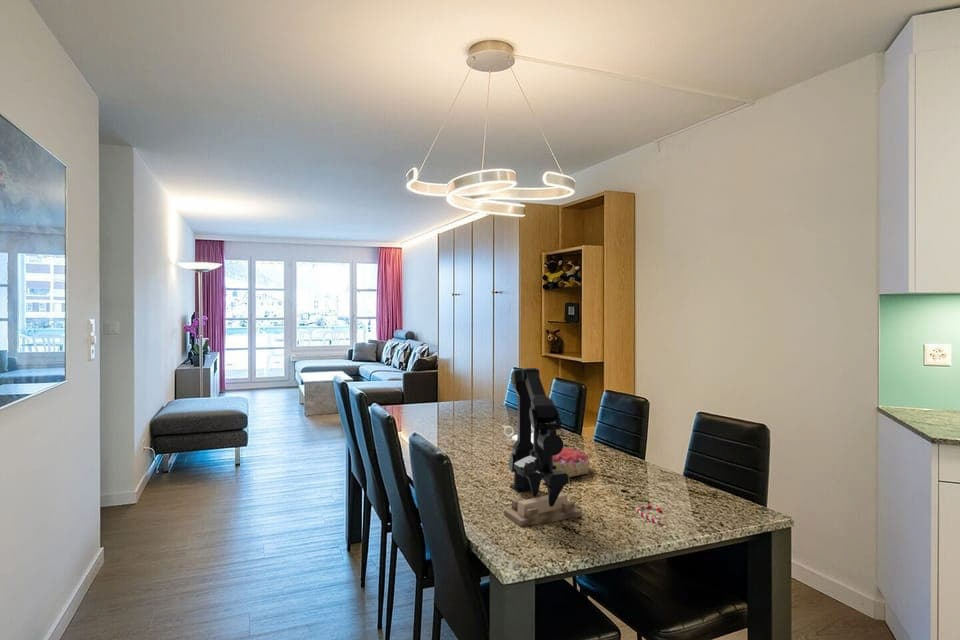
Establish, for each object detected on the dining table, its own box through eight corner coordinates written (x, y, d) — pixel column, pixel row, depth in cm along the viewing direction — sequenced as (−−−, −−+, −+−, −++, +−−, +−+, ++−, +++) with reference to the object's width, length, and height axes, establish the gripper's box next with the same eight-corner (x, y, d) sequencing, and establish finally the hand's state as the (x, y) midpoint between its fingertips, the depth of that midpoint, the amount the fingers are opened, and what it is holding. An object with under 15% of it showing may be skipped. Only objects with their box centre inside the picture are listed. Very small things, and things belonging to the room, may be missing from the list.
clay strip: (524, 517, 160) (524, 504, 160) (517, 513, 163) (517, 501, 163) (567, 506, 169) (567, 494, 169) (560, 503, 172) (560, 492, 171)
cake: (515, 473, 206) (517, 451, 206) (527, 459, 230) (529, 439, 230) (586, 483, 200) (587, 460, 200) (590, 468, 224) (592, 447, 224)
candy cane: (649, 522, 158) (631, 504, 173) (649, 527, 158) (631, 509, 173) (677, 522, 159) (657, 504, 174) (677, 527, 159) (657, 508, 174)
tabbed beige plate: (520, 526, 157) (520, 511, 157) (504, 514, 166) (504, 501, 166) (582, 516, 165) (582, 502, 165) (563, 505, 175) (563, 492, 174)
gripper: (503, 442, 171) (503, 495, 171) (535, 457, 154) (534, 515, 154) (536, 439, 175) (536, 490, 176) (570, 453, 158) (570, 510, 159)
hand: (543, 501), depth 166 cm, fingers open, 9 cm apart
